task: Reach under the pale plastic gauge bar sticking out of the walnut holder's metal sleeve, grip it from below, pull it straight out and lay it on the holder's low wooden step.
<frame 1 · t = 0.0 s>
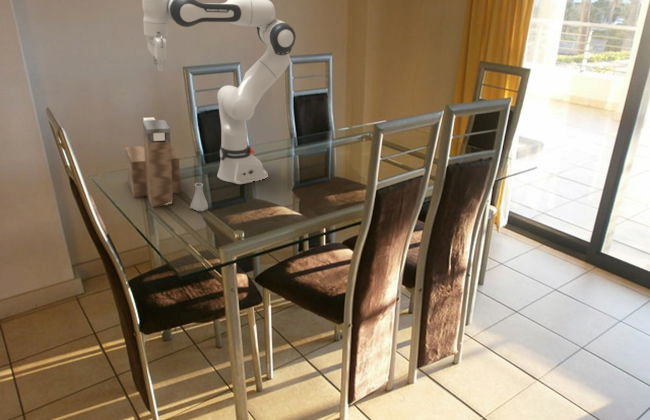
hand: (158, 68, 196), 48 cm above the table, tool pointing down, fingers open, 8 cm apart
walnut holder: (152, 183, 215), on the table
gauge bar: (153, 132, 196), point 26 cm above the table, touching walnut holder
flask: (199, 208, 201), on the table
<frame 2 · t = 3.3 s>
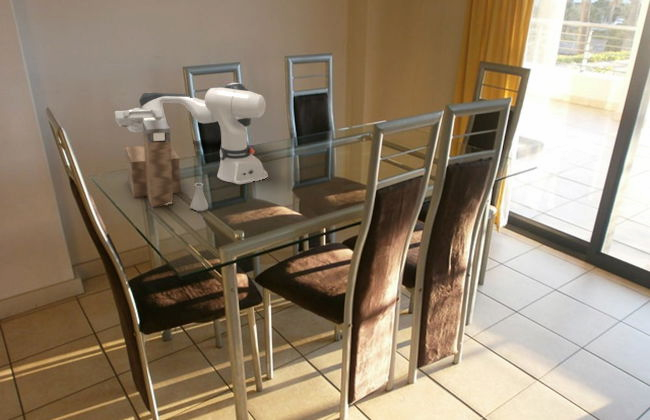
hand: (141, 111, 221), 24 cm above the table, tool pointing upward, fingers open, 8 cm apart
nothing on the table moved.
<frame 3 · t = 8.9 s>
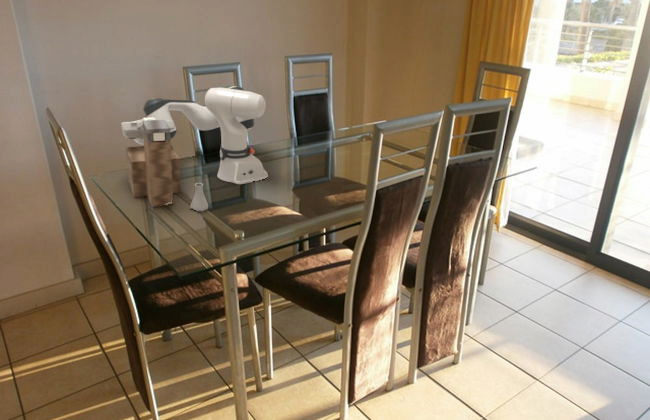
hand: (150, 122, 201), 27 cm above the table, tool pointing upward, fingers closed on gauge bar, 4 cm apart
gauge bar: (153, 132, 196), point 26 cm above the table, touching gripper, walnut holder
everything else where it was.
when the fingers open (19 cm above the table, at t = 15.0 s): gauge bar drops 2 cm, resting on walnut holder.
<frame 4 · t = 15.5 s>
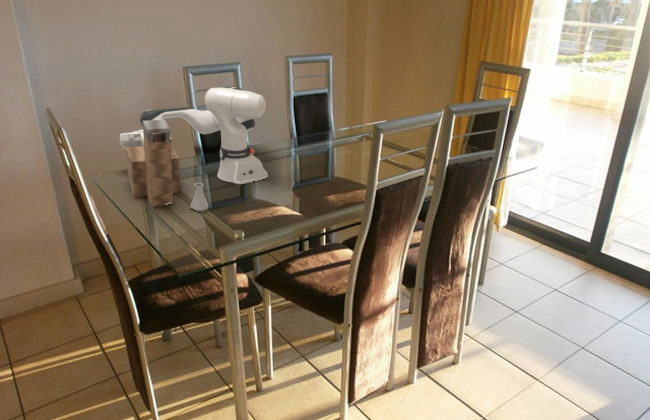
hand: (146, 134, 213), 19 cm above the table, tool pointing upward, fingers open, 8 cm apart
gauge bar: (150, 149, 209), point 15 cm above the table, touching walnut holder
everything else where it was.
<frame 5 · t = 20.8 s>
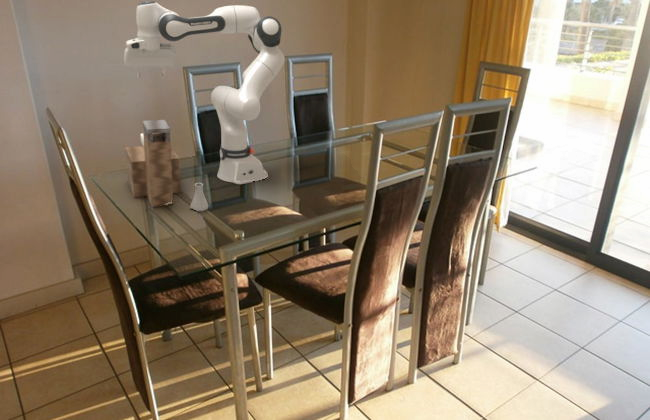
hand: (150, 77, 217), 39 cm above the table, tool pointing down, fingers open, 8 cm apart
nothing on the table moved.
at the end: gauge bar inside the target area (0.5 cm from its centre), point 15.0 cm above the table; the gripper is holding nothing; gauge bar touching walnut holder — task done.
